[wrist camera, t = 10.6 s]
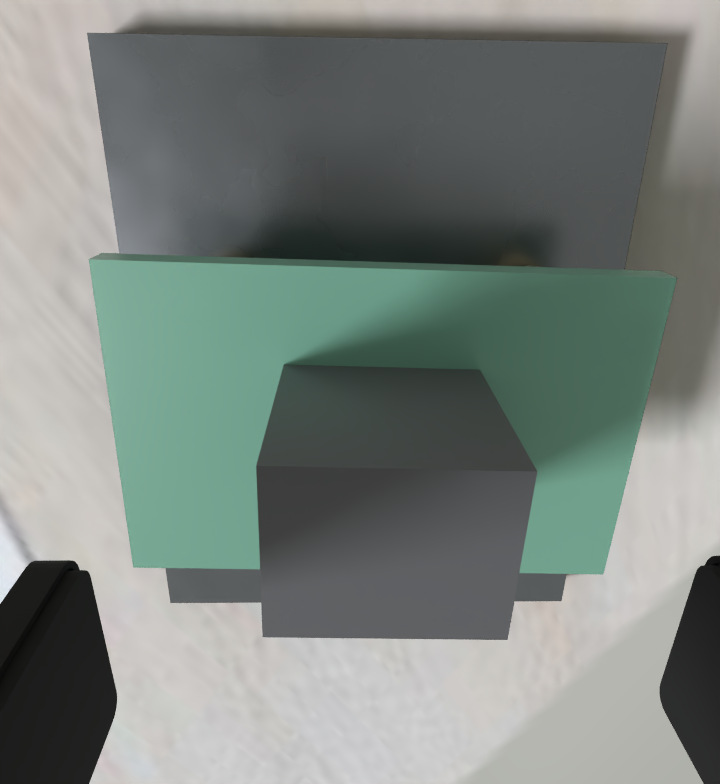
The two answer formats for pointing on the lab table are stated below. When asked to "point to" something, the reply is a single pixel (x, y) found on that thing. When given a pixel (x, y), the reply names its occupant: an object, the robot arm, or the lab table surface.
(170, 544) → the circuit board
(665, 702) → the robot arm
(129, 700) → the lab table surface
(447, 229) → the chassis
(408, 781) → the lab table surface
